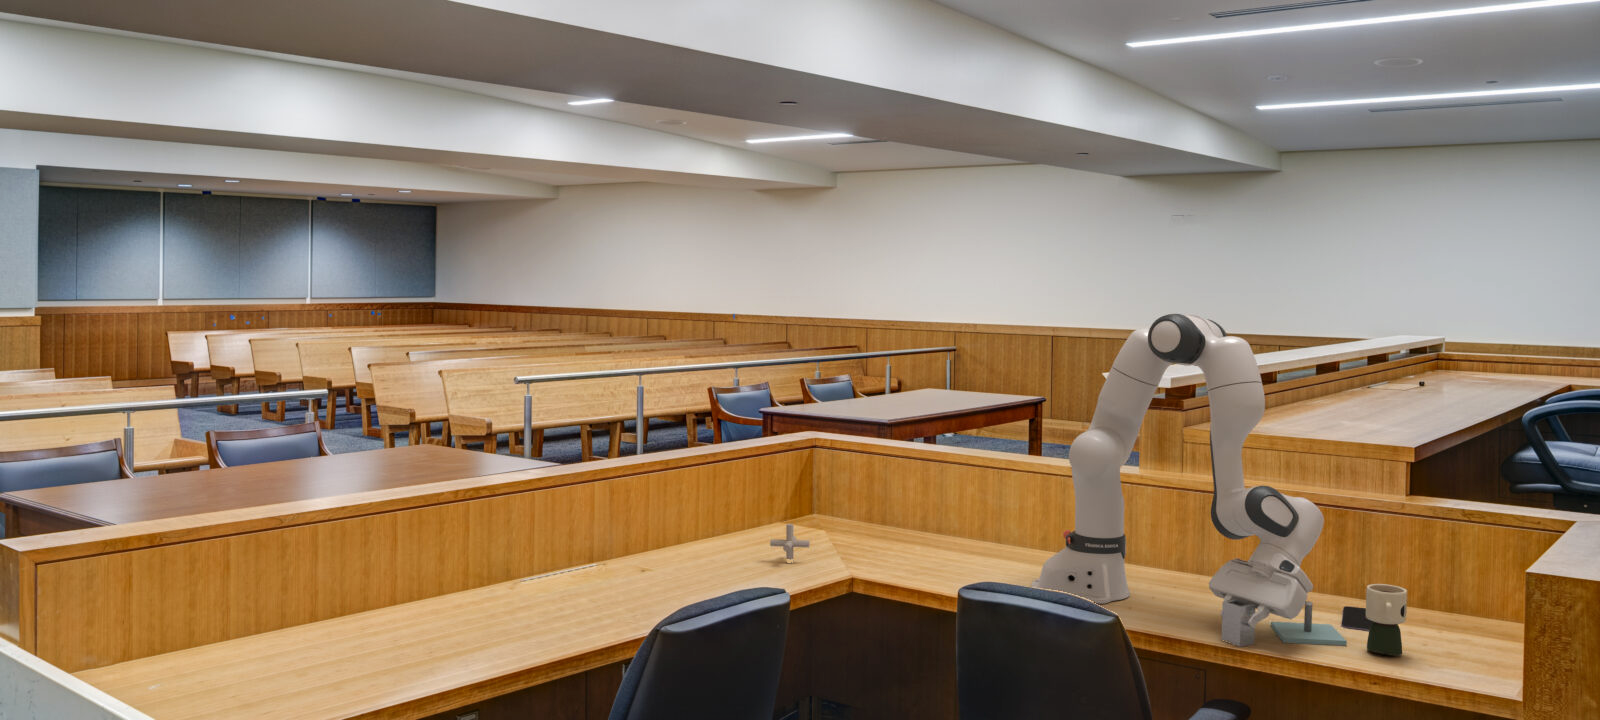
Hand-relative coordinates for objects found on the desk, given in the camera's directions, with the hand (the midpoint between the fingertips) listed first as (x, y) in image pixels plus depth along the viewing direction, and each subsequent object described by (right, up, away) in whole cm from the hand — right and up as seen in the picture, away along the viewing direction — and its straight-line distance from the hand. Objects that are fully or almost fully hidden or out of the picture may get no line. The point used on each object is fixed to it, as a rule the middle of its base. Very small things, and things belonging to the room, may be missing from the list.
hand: (1236, 621), depth 231 cm
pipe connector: (-91, 0, +64) cm, 111 cm away
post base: (+17, -4, +5) cm, 18 cm away
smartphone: (+33, -4, +15) cm, 36 cm away
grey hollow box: (+1, -4, +1) cm, 4 cm away
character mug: (+27, -5, -6) cm, 28 cm away
